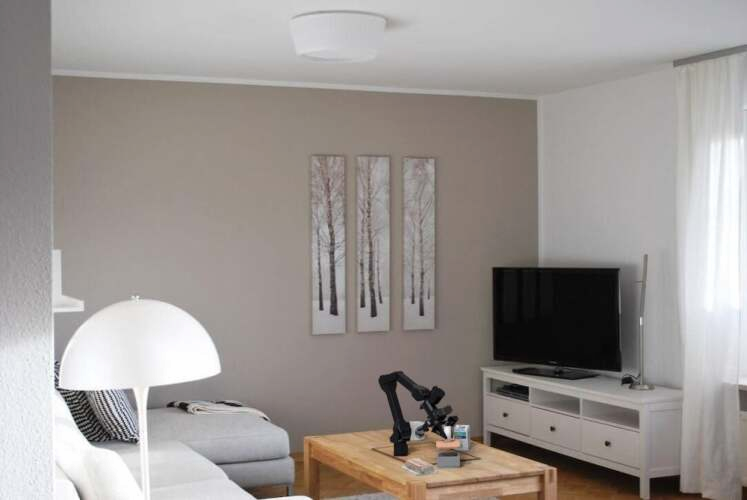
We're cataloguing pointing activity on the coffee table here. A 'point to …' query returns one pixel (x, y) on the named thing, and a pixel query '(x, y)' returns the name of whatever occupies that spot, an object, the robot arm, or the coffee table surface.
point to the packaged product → (419, 467)
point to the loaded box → (448, 460)
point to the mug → (417, 431)
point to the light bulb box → (462, 437)
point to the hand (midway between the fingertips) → (449, 438)
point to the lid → (447, 443)
